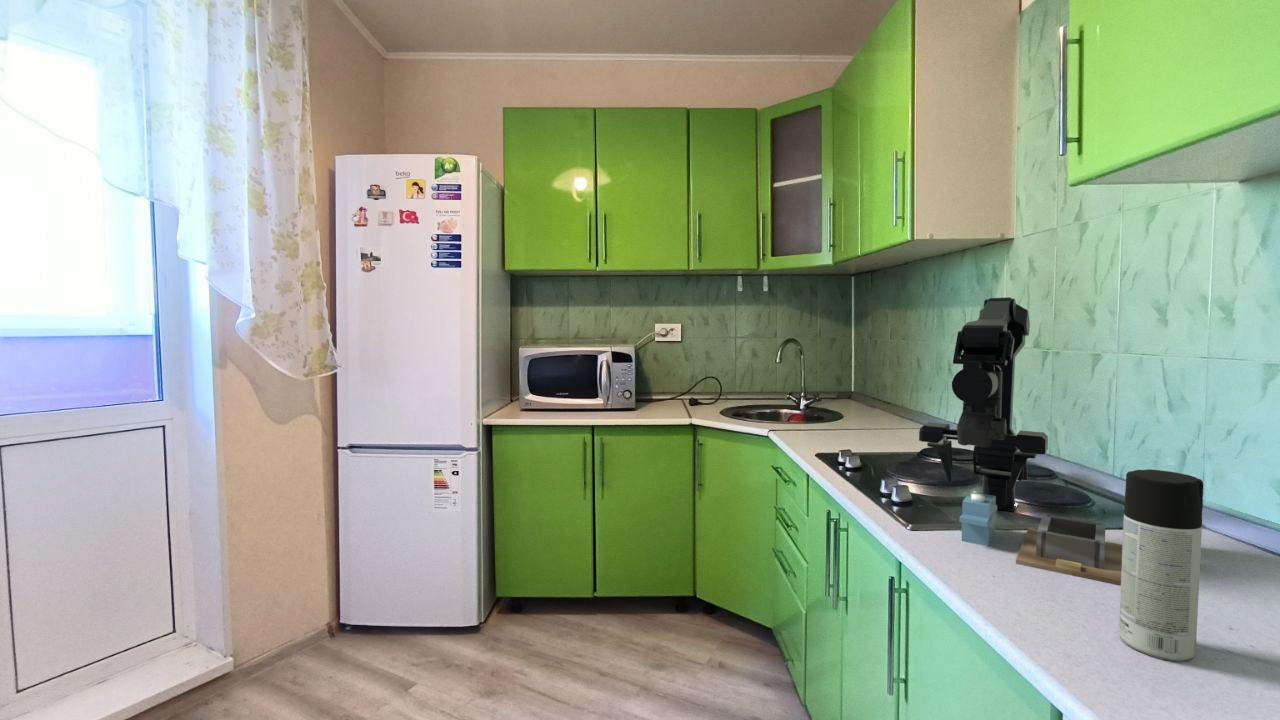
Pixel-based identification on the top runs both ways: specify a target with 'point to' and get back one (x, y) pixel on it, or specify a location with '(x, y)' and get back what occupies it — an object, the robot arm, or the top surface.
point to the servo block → (978, 518)
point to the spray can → (1161, 563)
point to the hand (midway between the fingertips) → (979, 486)
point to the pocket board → (1072, 549)
